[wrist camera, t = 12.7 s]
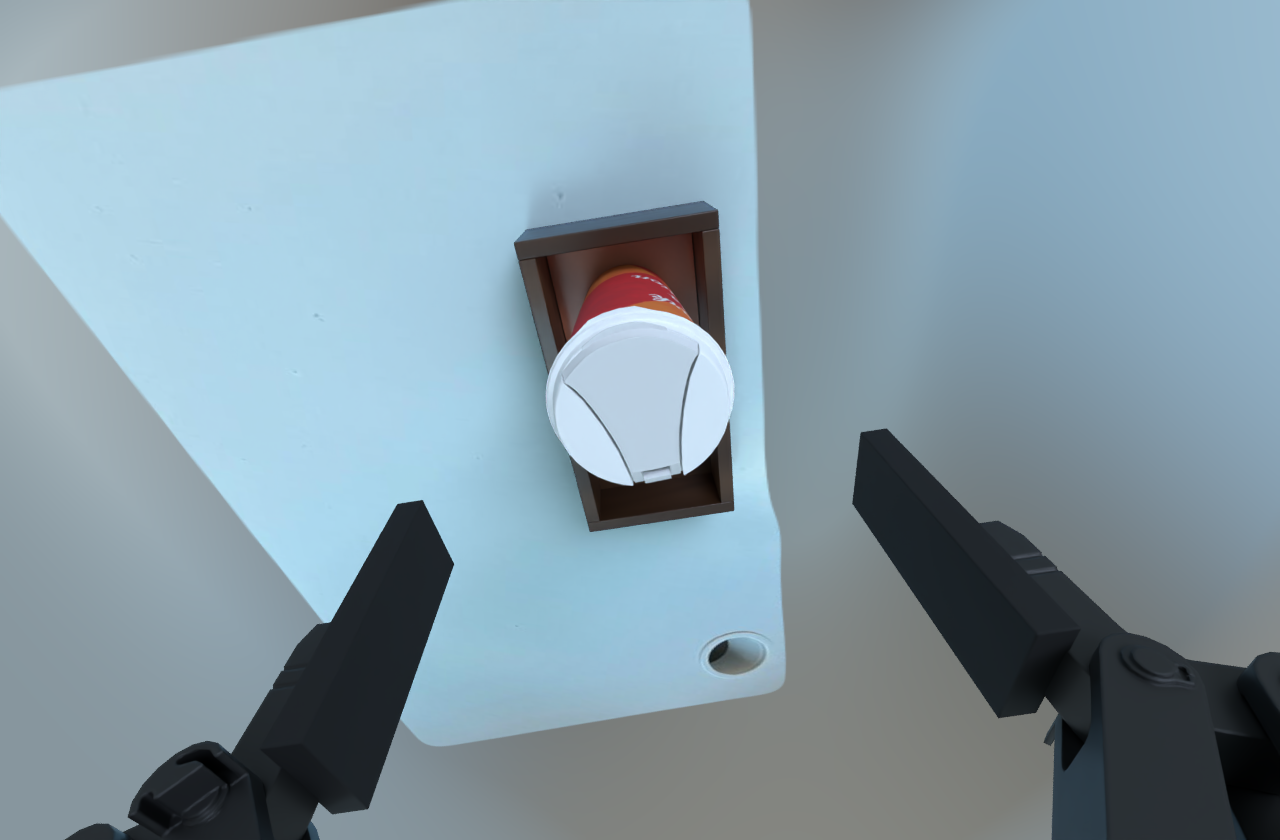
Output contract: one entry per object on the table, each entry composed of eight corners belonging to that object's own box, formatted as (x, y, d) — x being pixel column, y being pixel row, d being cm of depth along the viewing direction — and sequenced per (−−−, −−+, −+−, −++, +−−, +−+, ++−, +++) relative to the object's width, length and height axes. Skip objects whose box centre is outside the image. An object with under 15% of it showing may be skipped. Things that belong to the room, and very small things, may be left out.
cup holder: (525, 229, 30) (513, 242, 26) (703, 200, 30) (718, 209, 26) (591, 495, 42) (589, 532, 38) (722, 475, 41) (734, 511, 37)
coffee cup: (696, 350, 34) (750, 475, 21) (586, 374, 35) (573, 511, 22) (677, 229, 30) (729, 294, 17) (551, 259, 31) (511, 344, 18)
